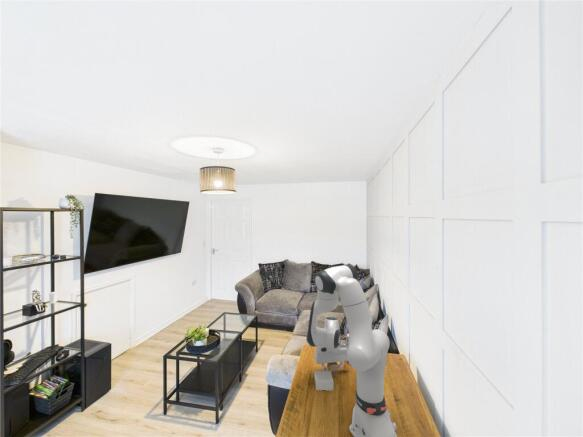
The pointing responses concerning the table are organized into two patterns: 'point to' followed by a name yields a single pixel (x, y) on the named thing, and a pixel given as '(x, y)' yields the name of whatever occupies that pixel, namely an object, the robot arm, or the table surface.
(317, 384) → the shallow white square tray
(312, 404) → the table surface
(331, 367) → the oak block
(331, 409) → the table surface
